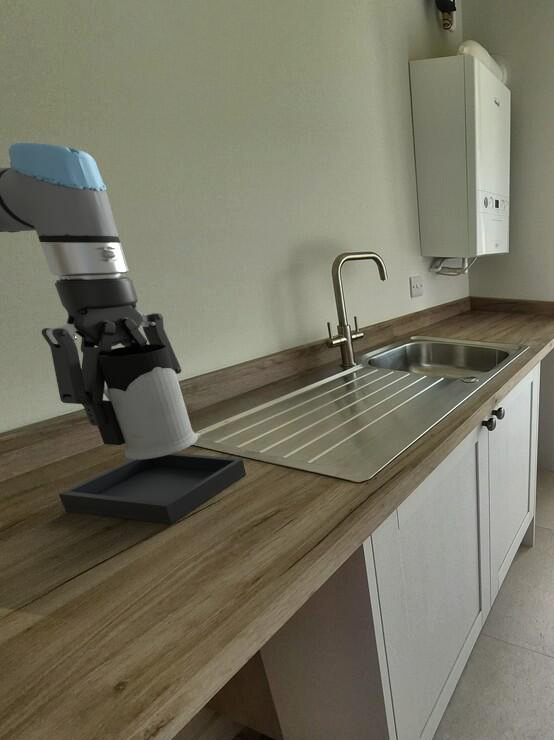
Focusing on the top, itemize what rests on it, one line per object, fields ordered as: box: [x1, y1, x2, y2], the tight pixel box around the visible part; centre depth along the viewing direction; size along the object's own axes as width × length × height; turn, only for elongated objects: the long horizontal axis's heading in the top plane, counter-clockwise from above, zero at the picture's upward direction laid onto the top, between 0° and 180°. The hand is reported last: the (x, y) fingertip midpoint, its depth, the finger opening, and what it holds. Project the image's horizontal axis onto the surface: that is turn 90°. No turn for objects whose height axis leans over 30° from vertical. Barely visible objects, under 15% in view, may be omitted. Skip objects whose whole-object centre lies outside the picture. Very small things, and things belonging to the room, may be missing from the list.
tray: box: [58, 452, 247, 525], centre depth 65 cm, size 19×14×3 cm
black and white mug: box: [97, 343, 199, 460], centre depth 61 cm, size 9×14×15 cm, turn 73°
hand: (143, 431), depth 62 cm, fingers closed on black and white mug, 7 cm apart
